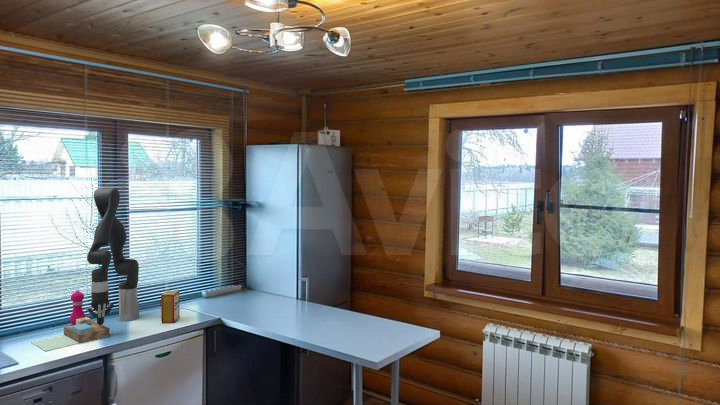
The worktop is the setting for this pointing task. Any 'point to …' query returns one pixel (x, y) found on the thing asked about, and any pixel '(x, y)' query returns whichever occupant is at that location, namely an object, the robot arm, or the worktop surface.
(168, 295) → the baking soda box
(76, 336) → the brown shallow rectangular piece
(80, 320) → the block
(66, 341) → the mat
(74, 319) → the pepper mill
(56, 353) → the worktop surface
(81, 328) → the teal sponge
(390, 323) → the worktop surface
